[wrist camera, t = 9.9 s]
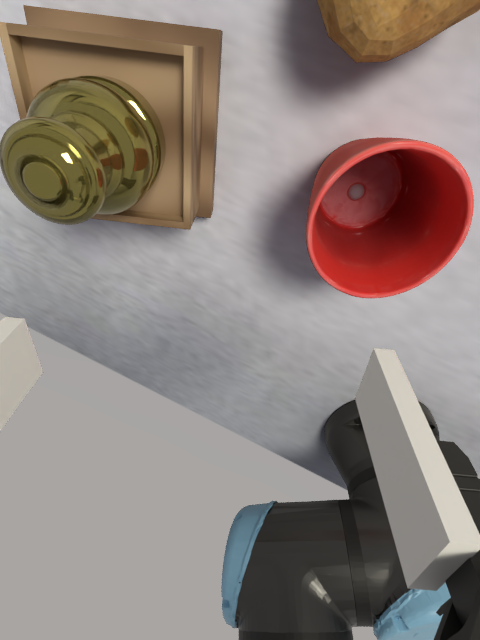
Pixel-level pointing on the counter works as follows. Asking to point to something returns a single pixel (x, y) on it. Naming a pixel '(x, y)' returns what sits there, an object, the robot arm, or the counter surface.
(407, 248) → the flower pot
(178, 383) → the counter surface
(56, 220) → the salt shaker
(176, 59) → the brown wooden square box
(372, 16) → the potato
